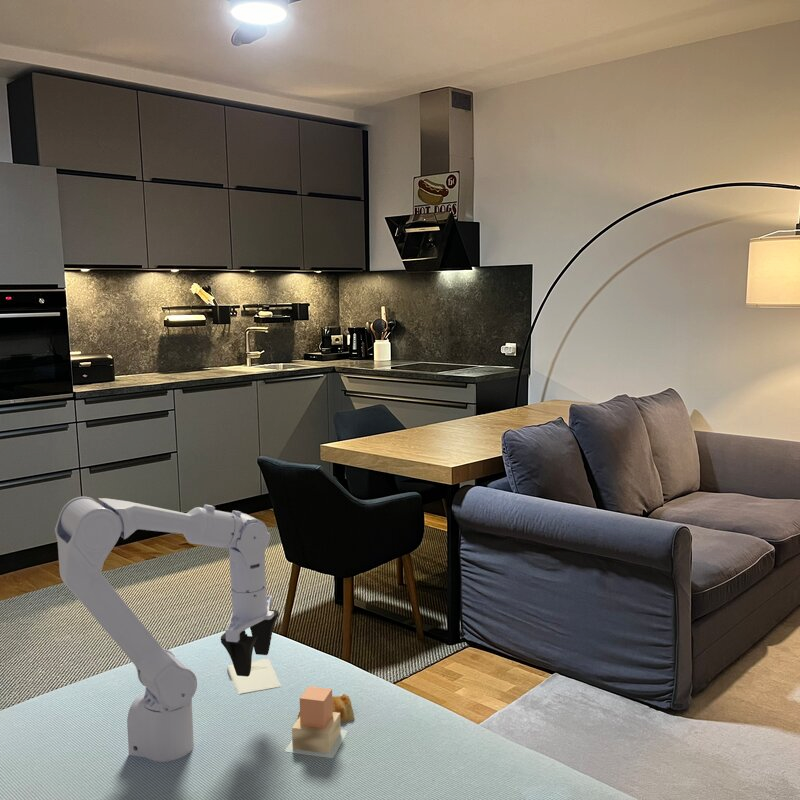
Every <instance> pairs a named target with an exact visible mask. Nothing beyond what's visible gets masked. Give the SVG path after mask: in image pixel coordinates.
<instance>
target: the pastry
mask: <svg viewBox="0 0 800 800" xmlns="http://www.w3.org/2000/svg"><path fill="white" fill-rule="evenodd" d="M332 709H333V712H337V713H340V723H345V722H352V721H354V720H355V713H354V709H353V706H352V700H351V698H350V696H349V695H347V694H345V693H343V694H342V695H341V696H340V695H337V696H336V695H335V696H333V695H332ZM299 717H300V711H299V712H298V715H297V720H298V719H299Z"/></svg>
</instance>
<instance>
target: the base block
mask: <svg viewBox="0 0 800 800" xmlns="http://www.w3.org/2000/svg"><path fill="white" fill-rule="evenodd" d="M341 730H342V728H341V722H340V713H337V712H333V716H332V717H331V719H330V720H329V722H328V723H327V725H326V727H325V728H318V727H310V726H303V725H300V717H299V719H298V718H297V720H296V721H295V723H294V724H293V726H292V727H291V735H292V737H291V741H292V745H293V749H298V750H306V751H313V752H321V753H329V752H330V751H331V749H332V747H333V746H334V744H335V742H336V740H337V739H338V737H339V735H340V733H341Z"/></svg>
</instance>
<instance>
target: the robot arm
mask: <svg viewBox="0 0 800 800" xmlns="http://www.w3.org/2000/svg"><path fill="white" fill-rule="evenodd" d="M98 501H100V502H101V503H102V504H101V503H99V502H98ZM138 530H142V531H144V530H145V531H153V532H162V533H170V534H182V535H183V536H184V538H185V540H186V541H187V542H188V543H189V544H192V545H193V544H194V545H199V546H206V547H214V548H221V549H228V557H229V574H230V577H229V578H230V590H231V591H230V593H231V609H232V612H230V613H231V614H230V618H229V623H228V626H227V627H226V629H224V630H225V632H224V633H223V634H221V636H220V643H221V645H222V646H223V647H224V648H225V650H226V652H227V653H228V655H229V657H230V659H231V662H232V664H233V666H234V669H235V672H236V674H237V676H246V677H248V676H249V675H250V672H251V662H252V661H253V659H252V657H253V651H254V653H255V655H259V656H267V655H269V653H270V652H269V651H270V648H271V647H270V646H271V640H272V636H273V632H274V627H275V625H276V623H277V620H278V617H280V616H279V615H280V612H279V610H277V609H271V608H272V607H274V604H273V603H274V601H273V599H274V598H273V595H267V593H268V592H267V576H266V575H267V574H266V549H267V547H268V546H269V544H270V541H271V537H272V535H271V534H272V533H271V532H269V531H268V527H267V525H266V523H264V521H262V520H261V519H257V518H255V517H254V516H251V515H249V514H247V513H244V512H242V511H239V510H232V511H231V512H229V511H222V510H217V509H216V507H215V506H213V505H211V504H204V505H203V507H200V506H197V507H196V506H195V507H193V508H192V509H191V510H189V511H188V512H186V513H185V512H181V511H176V510H173V509H172V510H171V509H166V508H162V507H157V506H152V505H148V504H143V503H137V502H133V501H128V500H122V499H113V498H107V497H104V498H103V497H101V498H100V497H98V500H96V499H95V498H92V497H89V496H77V497H75V498H72V499H70V500H69V501H67V503H65V504H64V506H62V509H61V511H60V513H59V515H58V519H57V521H56V525H55V528H54V533H55V536H56V541H57V550H58V551H57V553H58V565H59V566H58V567H59V576H60V579H61V580H62V582H63V583H64V584H65V585H66V586H67V589H69V590H70V591H71V592H72V593H73V595H74V597H76V598H77V600H78V601H79V602H80V604H82V605H83V606H84V608H85V609H86V610H87V611H88V613H90V614H91V616H92V617H93V618H94V619H95V620H96V622H97V623H98V624H99V625H100V626H101V628H102V629H104V631H105V632H106V633H107V634H108V635H109V636H110V637H111V639H112V640H113V641H114V643H116V645H117V646H118V647H119V648H120V649H121V651H122V652H123V653H124V654H125V655H126V656H127V657H128V659H129V660H130V662H131V663H132V664H133V665H134V666H135V669H136V671H137V678H138V681H139V682H140V683H141V685H142V686H144V687H145V692H144V694H141V695H138V696H136V698H134V700H133V701H132V702H131V705H130V706H129V710H128V713H127V719H126V725H127V726H126V729H127V745H128V747H127V748H128V755H129V756H134V757H139V758H140V757H141V758H147V759H149V760H151V761H154V762H159V763H167V762H172V761H175V760H179V759H181V758H183V757H186V756H187V755H188V754H190V753H191V751H192V750H194V749H193V748H194V741H195V740H194V722H193V721H194V720H193V698H194V696H195V695H196V692H197V688H198V680H197V675H196V674H195V673H194V672H193V671H192V670H191V669H190V668H187V667H186V666H185V665H184V664H183V663H182V661H180V660H179V659H178V658H177V657H176V656H175V655H174V653H172V651H170V650H168V649H166V648H163V647H162V645H161V644H160V643H159V642H158V640H157V639H156V638H155V637H154V636H153V634H152V633H151V632H150V631H149V630H148V628H147V627H146V626H145V625H144V623H143V622H142V621H141V620H140V619H139V617H138V616H137V615H136V614H135V613H134V611H133V610H132V609H131V608H130V606H128V605H127V603H126V602H125V601H124V599H123V598H122V596H120V595H119V593H118V592H117V591H116V590H115V589H114V587H113V586H112V585H111V584H110V582H109V581H108V580H107V579H106V578H105V576H104V575H103V574H102V570H103V567H104V563H105V561H106V559H107V558H108V556H109V555H110V554H111V552H112V550H113V549H114V547H115V545H116V544H117V543H118V541H119V538H120V537H121V538H123V540H126V539H128V538H129V537H130V536H131V535H132V534H134V533H135V532H136V531H138ZM249 628H250V633H251V635H248V633H246V630H247V629H249Z"/></svg>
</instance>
